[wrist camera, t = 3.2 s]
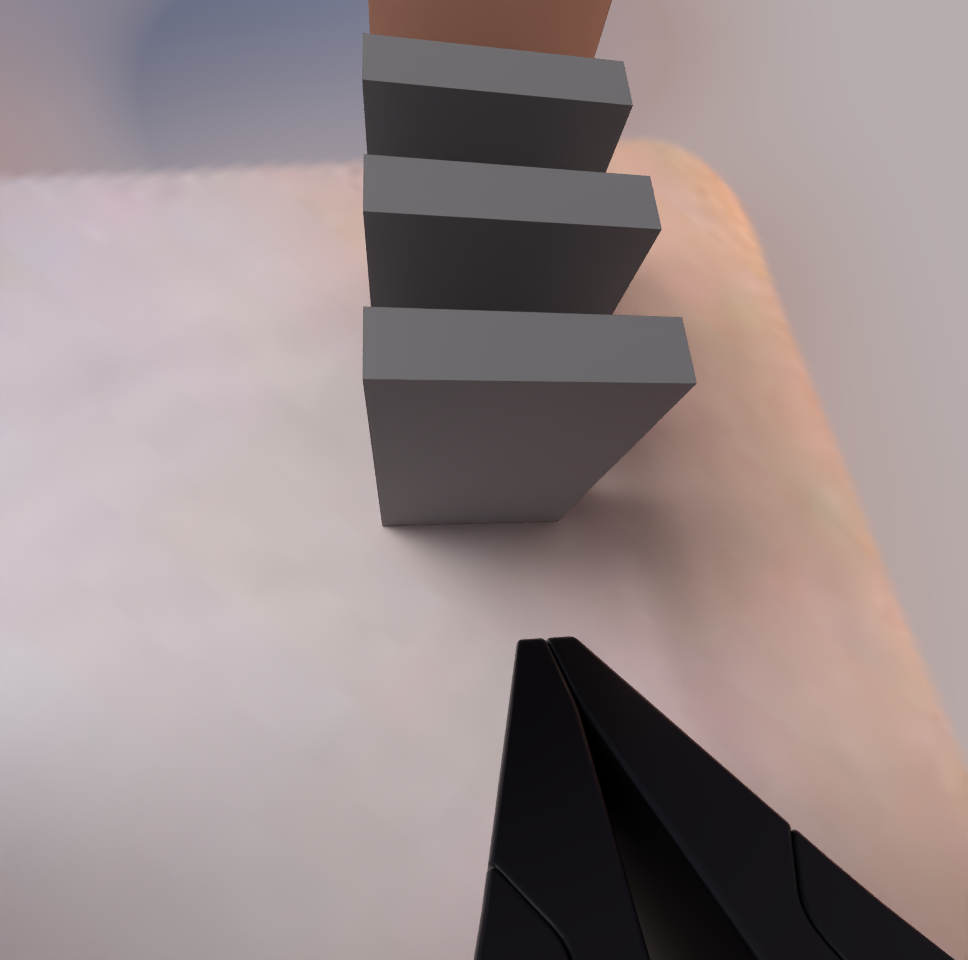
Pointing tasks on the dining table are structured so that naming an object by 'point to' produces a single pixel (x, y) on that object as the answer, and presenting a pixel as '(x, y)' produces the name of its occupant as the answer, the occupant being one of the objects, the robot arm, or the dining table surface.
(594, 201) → the tile
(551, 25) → the end tile
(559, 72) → the tile
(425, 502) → the tile
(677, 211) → the dining table surface
